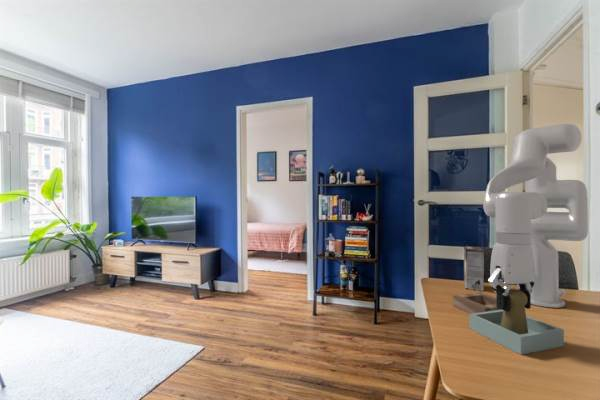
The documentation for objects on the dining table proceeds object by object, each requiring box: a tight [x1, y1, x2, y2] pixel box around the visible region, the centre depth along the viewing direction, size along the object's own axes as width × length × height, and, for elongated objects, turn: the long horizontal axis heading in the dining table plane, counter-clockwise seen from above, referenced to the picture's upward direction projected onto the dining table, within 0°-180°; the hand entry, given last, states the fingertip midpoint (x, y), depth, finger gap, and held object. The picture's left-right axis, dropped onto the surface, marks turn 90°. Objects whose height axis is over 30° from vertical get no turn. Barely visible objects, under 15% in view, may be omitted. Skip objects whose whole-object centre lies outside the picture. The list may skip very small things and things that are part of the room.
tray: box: [468, 310, 565, 355], centre depth 74 cm, size 14×14×4 cm
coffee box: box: [463, 245, 485, 292], centre depth 117 cm, size 9×6×16 cm
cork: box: [501, 288, 528, 335], centre depth 74 cm, size 6×6×11 cm
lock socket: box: [452, 292, 501, 314], centre depth 91 cm, size 12×12×4 cm
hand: (513, 307), depth 74 cm, fingers open, 6 cm apart
